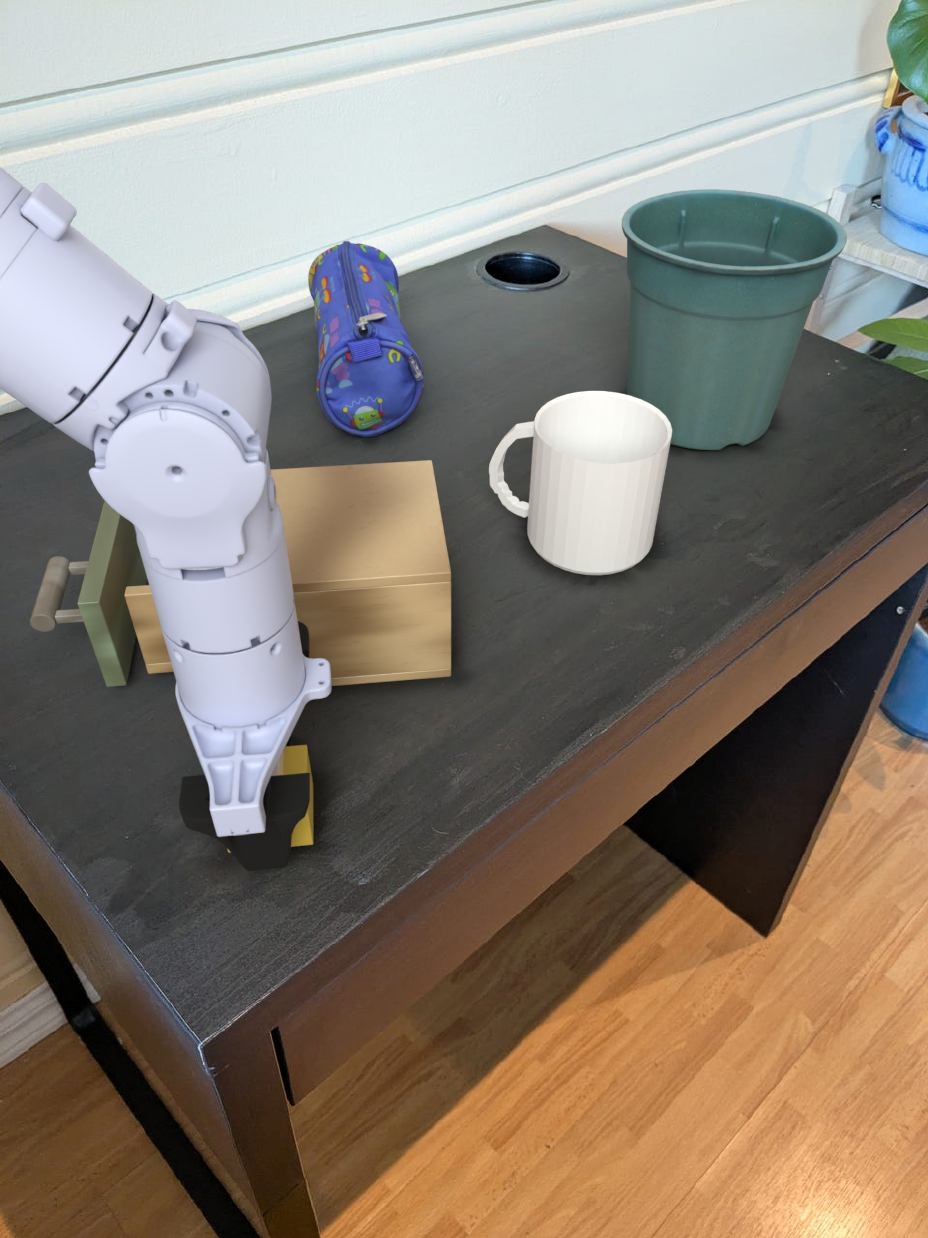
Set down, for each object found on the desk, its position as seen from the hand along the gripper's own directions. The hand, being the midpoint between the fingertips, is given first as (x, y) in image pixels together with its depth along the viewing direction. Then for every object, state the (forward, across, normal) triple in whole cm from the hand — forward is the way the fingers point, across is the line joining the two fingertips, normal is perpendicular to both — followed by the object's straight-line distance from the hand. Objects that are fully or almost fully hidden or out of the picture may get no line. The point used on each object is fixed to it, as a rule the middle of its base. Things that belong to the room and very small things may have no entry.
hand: (268, 800), depth 50 cm
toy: (+2, 0, 0) cm, 2 cm away
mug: (+2, +23, -21) cm, 31 cm away
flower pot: (+2, +38, -35) cm, 52 cm away
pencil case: (+2, +47, -7) cm, 48 cm away
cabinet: (+2, +15, -4) cm, 16 cm away
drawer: (+1, +15, +6) cm, 16 cm away
